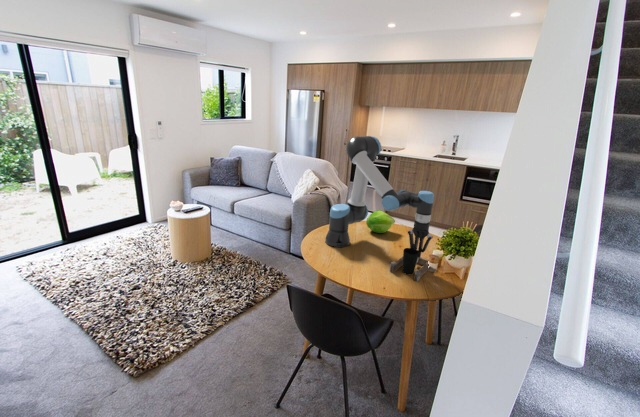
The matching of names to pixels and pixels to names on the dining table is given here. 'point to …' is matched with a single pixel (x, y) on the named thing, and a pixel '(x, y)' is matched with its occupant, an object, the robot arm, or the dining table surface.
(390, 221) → the lettuce
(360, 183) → the robot arm
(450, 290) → the dining table surface
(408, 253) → the cup
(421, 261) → the grey u-shaped frame
